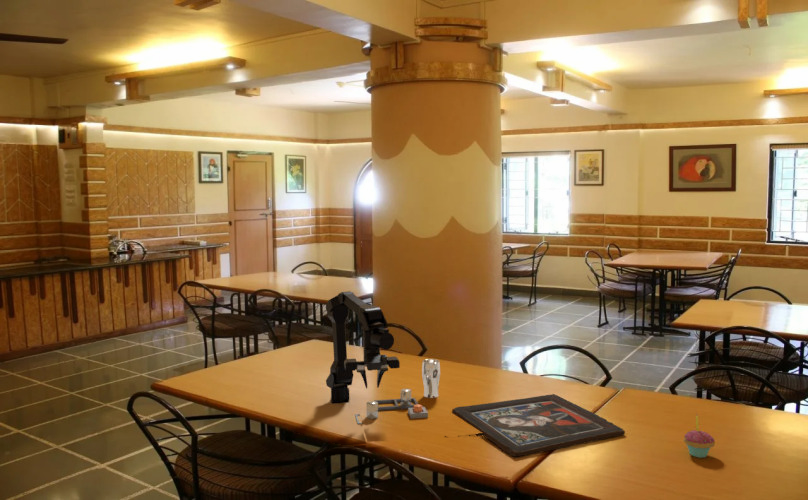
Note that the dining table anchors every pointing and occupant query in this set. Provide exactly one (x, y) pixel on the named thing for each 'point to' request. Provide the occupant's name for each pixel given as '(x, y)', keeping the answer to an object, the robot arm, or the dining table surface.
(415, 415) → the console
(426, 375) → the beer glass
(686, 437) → the cupcake
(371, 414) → the cylinder
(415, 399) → the grey divided tray
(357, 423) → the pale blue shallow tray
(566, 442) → the religious icon
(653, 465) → the dining table surface
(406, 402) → the cylinder
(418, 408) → the brown egg
